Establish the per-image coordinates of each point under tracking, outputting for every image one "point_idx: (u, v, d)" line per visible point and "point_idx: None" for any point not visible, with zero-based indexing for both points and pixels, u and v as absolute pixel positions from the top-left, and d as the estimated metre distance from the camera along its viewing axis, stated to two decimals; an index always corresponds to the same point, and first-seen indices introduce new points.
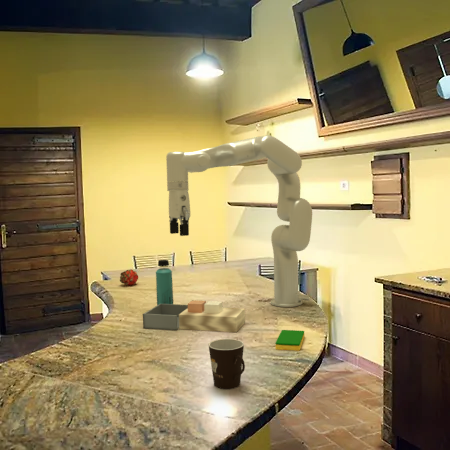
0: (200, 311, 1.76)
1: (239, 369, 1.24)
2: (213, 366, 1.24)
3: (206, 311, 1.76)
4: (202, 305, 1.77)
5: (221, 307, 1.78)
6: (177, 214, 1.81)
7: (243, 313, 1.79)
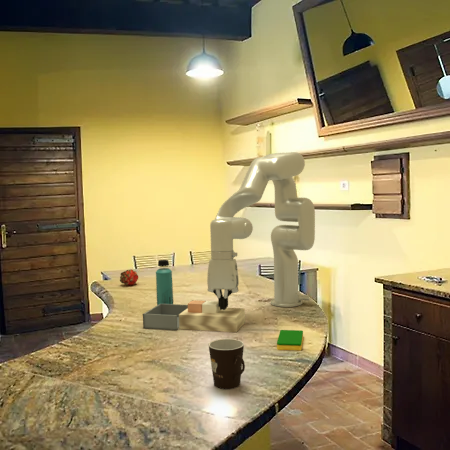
0: (200, 311, 1.76)
1: (239, 369, 1.24)
2: (213, 366, 1.24)
3: (204, 311, 1.76)
4: None
5: (219, 307, 1.78)
6: (232, 285, 1.73)
7: (243, 313, 1.79)
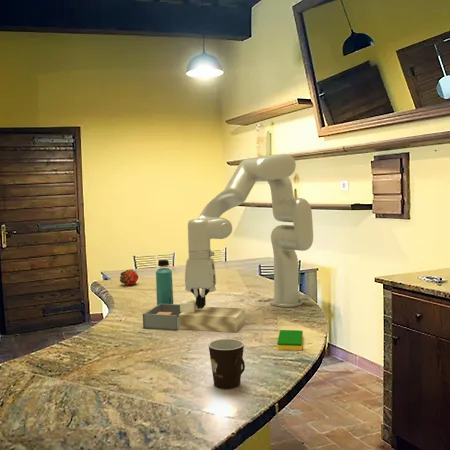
0: None
1: (239, 369, 1.24)
2: (213, 366, 1.24)
3: (181, 310, 1.78)
4: None
5: None
6: (209, 284, 1.75)
7: (243, 313, 1.79)
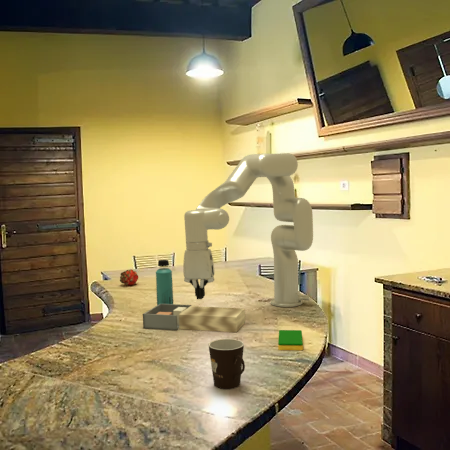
0: None
1: (239, 369, 1.24)
2: (213, 366, 1.24)
3: None
4: None
5: (181, 308, 1.81)
6: (208, 275, 1.75)
7: (243, 313, 1.79)
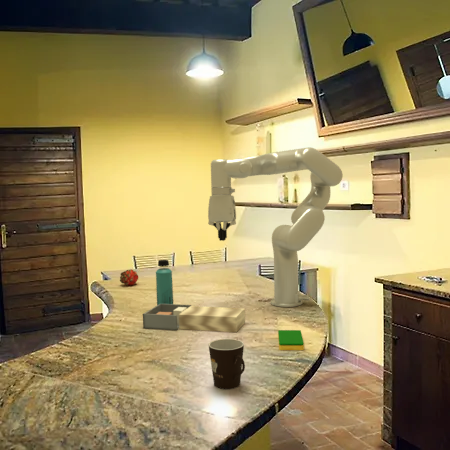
0: None
1: (239, 369, 1.24)
2: (213, 366, 1.24)
3: None
4: None
5: (181, 308, 1.81)
6: (230, 217, 1.94)
7: (243, 313, 1.79)
